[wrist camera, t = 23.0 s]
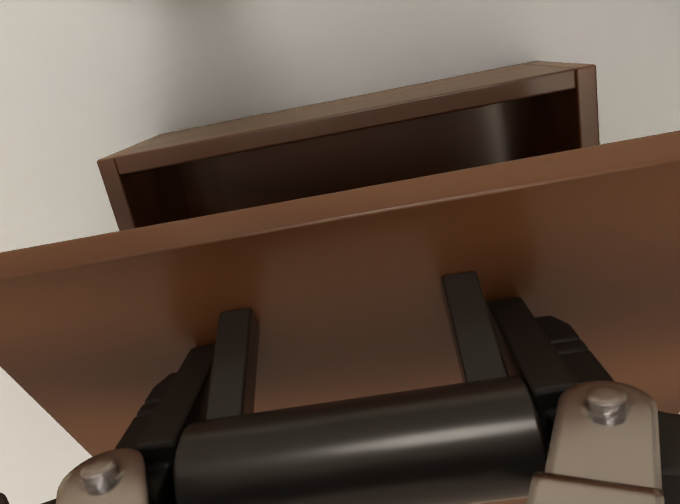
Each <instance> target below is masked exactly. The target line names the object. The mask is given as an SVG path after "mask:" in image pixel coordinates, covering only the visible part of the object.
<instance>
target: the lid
mask: <svg viewBox="0 0 680 504" xmlns="http://www.w3.org/2000/svg"><path fill="white" fill-rule="evenodd" d="M516 297H521V298H522V299H523V301H524V302H525V304H526V305H527V307H528V308H529V310H530V311H531V313H532V314H533V316H534V317H535V318H536V317H542V316H549V315H551V316H553V317H555V318H557V319H560V320H562V321H564V322H566V323H568V324H570V326H571V327H572V328H573V329H574V331H575V332H576V333H577V334H578V336H579V337H580V340H582V341H583V342H584V343H585V344H586V346H587V347H588V349H589V351H591V352H592V353H593V355H594V356H595V357H596V358H597V360H598V361H599V362H600V363H601V365H602V366H603V367H604V368H605V370H606V371H607V372H608V374H609V375H610V376H611V377H612V379H613V380H614V381H615V382H620V383H625V384H628V385H632V386H634V387H636V388H639V389H641V390H642V391H644V392H646V393H647V394H648V395H650V396H651V398H652V399H653V400H654V401H655V403H656V405H657V409H658V411H661V412H665V413H671V414H679V412H680V131H674V132H669V133H663V134H658V135H652V136H647V137H641V138H635V139H630V140H624V141H619V142H613V143H608V144H602V145H596V146H591V147H585V148H580V149H574V150H569V151H563V152H557V153H552V154H546V155H541V156H535V157H530V158H524V159H519V160H513V161H507V162H502V163H496V164H491V165H485V166H480V167H474V168H468V169H463V170H457V171H452V172H446V173H441V174H435V175H429V176H424V177H418V178H413V179H407V180H402V181H396V182H391V183H385V184H379V185H374V186H368V187H363V188H357V189H352V190H346V191H340V192H335V193H329V194H324V195H318V196H313V197H307V198H302V199H296V200H290V201H285V202H279V203H274V204H268V205H263V206H257V207H251V208H246V209H240V210H235V211H229V212H224V213H218V214H212V215H207V216H201V217H196V218H190V219H185V220H179V221H174V222H168V223H162V224H157V225H151V226H146V227H140V228H135V229H129V230H123V231H118V232H112V233H107V234H101V235H96V236H90V237H85V238H79V239H73V240H68V241H62V242H57V243H51V244H46V245H40V246H34V247H29V248H23V249H18V250H12V251H7V252H1V253H0V367H1V368H2V369H3V370H5V371H6V372H7V373H8V374H9V375H10V376H11V377H12V378H13V379H14V380H15V381H16V382H17V383H18V384H19V385H20V386H21V387H22V388H23V389H24V390H25V391H26V392H27V393H28V394H29V395H30V396H31V397H32V398H33V399H34V400H35V401H36V402H37V403H38V404H39V405H40V406H41V407H42V408H43V409H44V410H46V411H47V412H48V413H49V414H50V415H51V416H52V417H53V418H54V419H55V420H56V421H57V422H58V423H59V424H60V425H61V426H62V427H63V428H64V429H65V430H66V431H67V432H68V433H69V434H70V435H71V436H72V437H73V438H74V439H75V440H76V441H77V442H78V443H79V444H80V445H81V446H82V447H83V448H84V449H85V450H86V451H88V452H89V453H90V454H91V455H92V456H96V455H98V454H100V453H103V452H106V451H110V450H114V449H115V447H116V446H117V444H118V443H119V441H120V440H121V438H122V436H123V435H124V433H125V432H126V430H127V429H128V427H129V425H130V424H131V422H132V421H133V419H134V418H135V417H137V413H138V411H139V410H140V408H141V407H142V405H145V400H146V399H147V397H148V396H149V394H150V392H151V391H152V389H153V388H154V387H155V386H156V385H157V384H158V383H160V382H161V381H162V380H163V379H164V378H166V377H167V376H168V375H169V374H171V373H176V372H178V370H179V368H180V367H181V365H182V363H183V361H184V360H185V358H186V356H187V355H188V353H189V351H190V350H191V349H192V348H196V347H202V346H208V345H215V348H214V355H213V362H212V369H211V376H210V383H209V391H208V398H207V405H206V412H205V419H204V420H200V421H194V422H191V423H190V424H188V425H187V426H186V427H185V428H184V429H183V431H182V433H181V435H180V437H179V440H178V444H177V447H176V452H175V459H174V473H173V480H174V495H175V502H176V504H526V503H527V498H528V494H529V489H530V484H531V480H532V477H533V474H534V472H535V471H540V472H545V467H546V462H547V452H546V446H545V441H544V436H543V432H542V428H541V424H540V420H539V416H538V413H537V410H536V406H535V403H534V401H533V398H532V395H531V393H530V390H529V388H528V386H527V384H526V383H525V381H524V380H523V378H522V377H521V376H518V375H512V376H508V373H507V369H506V366H505V363H504V359H503V356H502V353H501V350H500V346H499V343H498V340H497V336H496V333H495V330H494V327H493V323H492V320H491V317H490V314H489V310H488V307H487V304H486V302H490V301H497V300H503V299H509V298H516Z"/></svg>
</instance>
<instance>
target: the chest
mask: <svg viewBox="0 0 680 504" xmlns="http://www.w3.org/2000/svg"><path fill="white" fill-rule="evenodd" d="M596 145H600V144H599V122H598V101H597V79H596V66H595V65H593V64H578V63H562V62H546V61H533V62H528V63H522V64H517V65H512V66H507V67H502V68H497V69H492V70H487V71H482V72H476V73H471V74H466V75H461V76H456V77H451V78H446V79H441V80H435V81H430V82H425V83H420V84H415V85H410V86H405V87H400V88H395V89H389V90H384V91H379V92H374V93H369V94H364V95H359V96H354V97H349V98H343V99H338V100H333V101H328V102H323V103H318V104H313V105H308V106H302V107H297V108H292V109H287V110H282V111H277V112H272V113H267V114H262V115H256V116H251V117H246V118H241V119H236V120H231V121H226V122H221V123H216V124H210V125H205V126H200V127H195V128H190V129H185V130H180V131H175V132H169V133H164V134H160V135H157V136H155V137H153V138H150V139H148V140H145V141H143V142H141V143H138V144H136V145H133V146H131V147H129V148H126V149H124V150H121V151H119V152H116V153H114V154H112V155H109V156H107V157H104V158H102V159H100V160H98V161H97V164H98V167H99V170H100V173H101V176H102V179H103V182H104V185H105V188H106V191H107V194H108V197H109V200H110V203H111V206H112V209H113V212H114V215H115V219H116V222H117V225H118V228H119V231H123V230H129V229H135V228H140V227H146V226H151V225H157V224H162V223H168V222H174V221H179V220H185V219H190V218H196V217H201V216H207V215H212V214H218V213H224V212H229V211H235V210H240V209H246V208H251V207H257V206H263V205H268V204H274V203H279V202H285V201H290V200H296V199H302V198H307V197H313V196H318V195H324V194H329V193H335V192H340V191H346V190H352V189H357V188H363V187H368V186H374V185H379V184H385V183H391V182H396V181H402V180H407V179H413V178H418V177H424V176H429V175H435V174H441V173H446V172H452V171H457V170H463V169H468V168H474V167H480V166H485V165H491V164H496V163H502V162H507V161H513V160H519V159H524V158H530V157H535V156H541V155H546V154H552V153H557V152H563V151H569V150H574V149H580V148H585V147H591V146H596Z"/></svg>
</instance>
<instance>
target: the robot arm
mask: <svg viewBox="0 0 680 504" xmlns="http://www.w3.org/2000/svg"><path fill="white" fill-rule="evenodd" d="M486 304H487V307H488V310H489V314H490V317H491V320H492V323H493V327H494V330H495V333H496V336H497V340H498V343H499V346H500V350H501V353H502V356H503V359H504V363H505V366H506V369H507V373H508V376H512V375H518V376H521V377H522V378H523V380H524V381H525V383H526V384H527V386H528V388H529V390H530V393H531V395H532V398H533V401H534V403H535V406H536V410H537V413H538V416H539V420H540V424H541V428H542V432H543V436H544V441H545V446H546V452H547V462H546V467H545V472H540V471H535V472H534V474H533V477H532V480H531V484H530V489H529V494H528V498H527V503H526V504H680V415H679V414H671V413H665V412H661V411H658V409H657V405H656V403H655V401H654V400H653V399H652V398H651V396H650V395H648V394H647V393H646V392H644V391H642V390H641V389H639V388H636V387H634V386H632V385H628V384H625V383H620V382H615V381H614V380H613V379H612V377H611V376H610V375H609V374H608V372H607V371H606V370H605V368H604V367H603V366H602V365H601V363H600V362H599V361H598V360H597V358H596V357H595V356H594V355H593V353H592V352H591V351H589V349H588V347H587V346H586V344H585V343H584V342H583V341H582V340H580V337H579V336H578V334H577V333H576V332H575V331H574V329H573V328H572V327H571V326H570V324H568V323H566V322H564V321H562V320H560V319H557V318H555V317H553V316H551V315H549V316H542V317H536V318H535V317H534V316H533V314H532V313H531V311H530V310H529V308H528V307H527V305H526V304H525V302H524V301H523V299H522V298H521V297H516V298H509V299H503V300H497V301H490V302H486ZM214 348H215V345H208V346H202V347H196V348H192V349H191V350H190V351H189V353H188V355H187V356H186V358H185V360H184V361H183V363H182V365H181V367H180V368H179V370H178V372H176V373H171V374H169V375H168V376H167V377H166V378H164V379H163V380H162V381H161V382H160V383H158V384H157V385H156V386H155V387H154V388H153V389H152V391H151V392H150V394H149V396H148V397H147V399H146V400H145V405H142V407H141V408H140V410H139V411H138V413H137V417H135V418H134V419H133V421H132V422H131V424H130V425H129V427H128V429H127V430H126V432H125V433H124V435H123V436H122V438H121V440H120V441H119V443H118V444H117V446H116V447H115V449H114V450H110V451H106V452H103V453H100V454H98V455H96V456H93V457H91V458H89V459H88V460H86V461H84V462H83V463H81V464H80V465H78V466H77V467H75V468H74V469H73V470H72V471H71V472H70V473H69V474H68V475H67V476H66V477H65V478H64V479H63V481H62V482H61V484H60V486H59V488H58V491H57V498H56V499H54V500H51V501H48V502H45V503H42V504H176V502H175V495H174V480H173V473H174V459H175V452H176V447H177V444H178V440H179V437H180V435H181V433H182V431H183V429H184V428H185V427H186V426H187V425H188V424H190V423H191V422H194V421H200V420H204V419H205V412H206V405H207V398H208V391H209V383H210V376H211V369H212V362H213V355H214ZM0 504H9V502H8V500H7V498H6V496H5V495H4V494H3V493H0Z"/></svg>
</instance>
